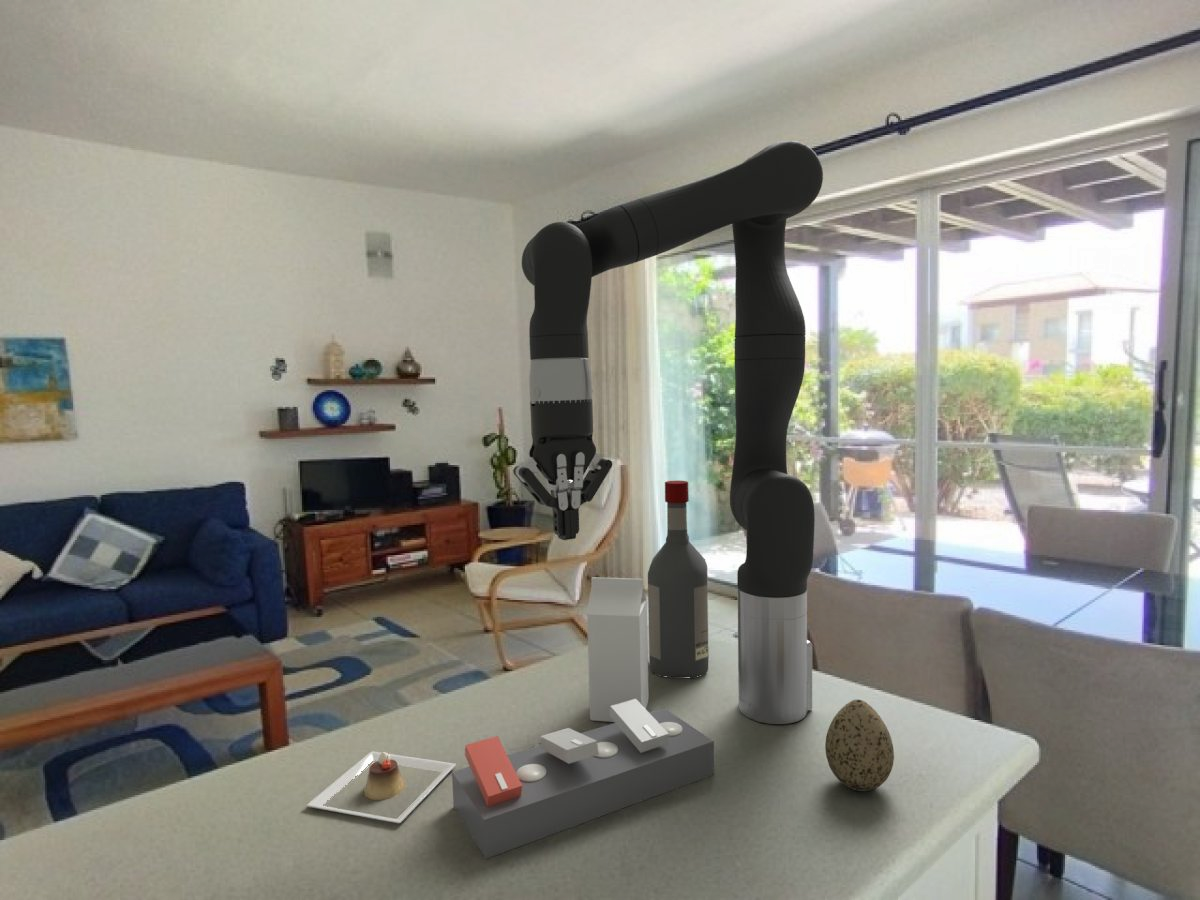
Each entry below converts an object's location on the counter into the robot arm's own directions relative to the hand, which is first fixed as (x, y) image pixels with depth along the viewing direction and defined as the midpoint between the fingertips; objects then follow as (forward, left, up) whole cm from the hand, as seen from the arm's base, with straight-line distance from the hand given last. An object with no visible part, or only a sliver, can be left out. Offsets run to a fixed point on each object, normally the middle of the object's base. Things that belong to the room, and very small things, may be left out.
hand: (566, 538), depth 86 cm
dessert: (+23, -3, -28) cm, 36 cm away
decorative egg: (-23, +25, -27) cm, 43 cm away
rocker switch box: (+3, +9, -27) cm, 29 cm away
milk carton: (-10, -5, -27) cm, 29 cm away
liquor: (-26, -13, -27) cm, 40 cm away
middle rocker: (+5, +9, -21) cm, 24 cm away
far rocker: (-4, +9, -21) cm, 24 cm away
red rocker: (+14, +9, -21) cm, 27 cm away
